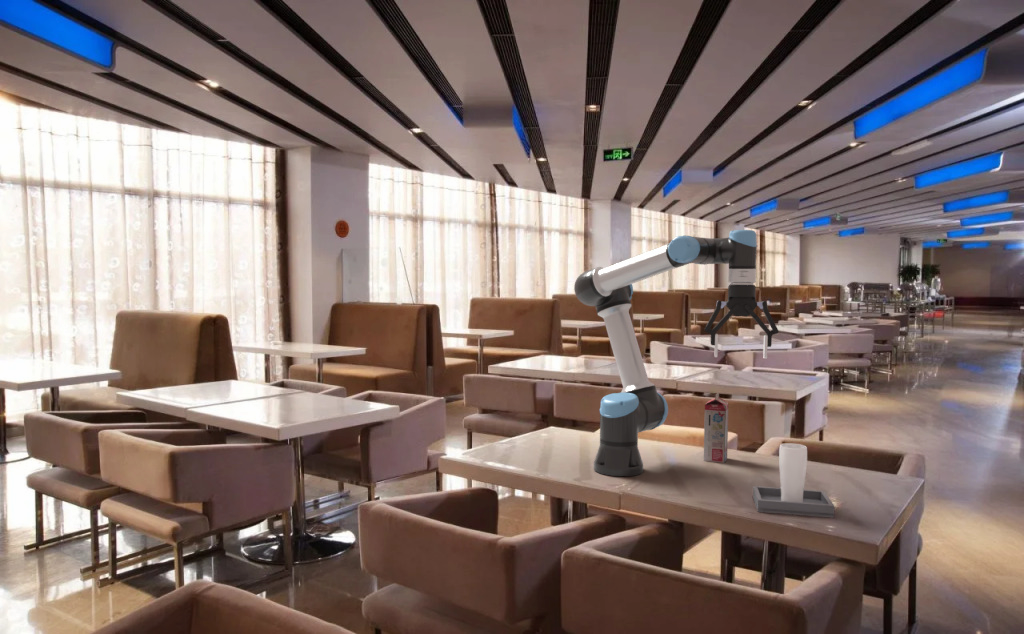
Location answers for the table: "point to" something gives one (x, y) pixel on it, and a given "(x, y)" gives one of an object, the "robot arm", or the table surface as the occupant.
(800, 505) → the tray
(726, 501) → the table surface
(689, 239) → the robot arm
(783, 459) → the drinking glass
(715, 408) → the juice carton
